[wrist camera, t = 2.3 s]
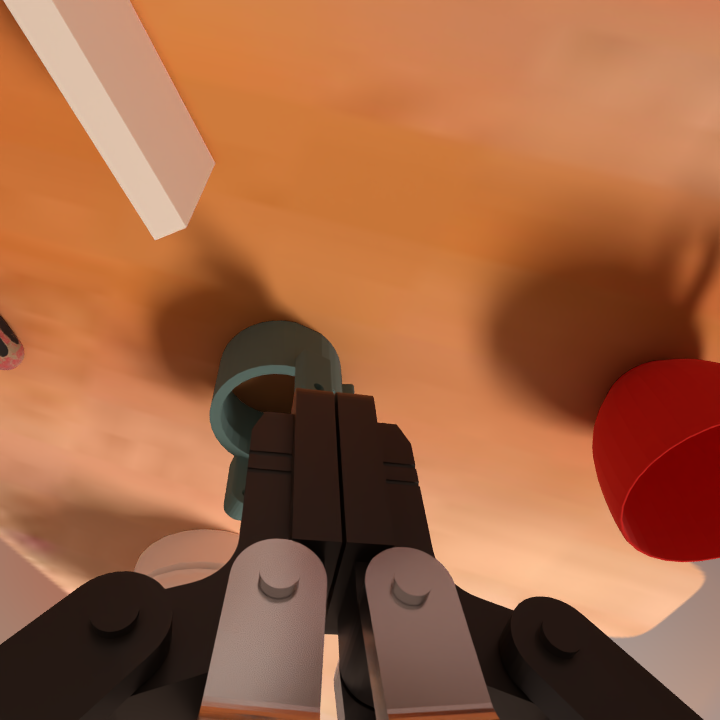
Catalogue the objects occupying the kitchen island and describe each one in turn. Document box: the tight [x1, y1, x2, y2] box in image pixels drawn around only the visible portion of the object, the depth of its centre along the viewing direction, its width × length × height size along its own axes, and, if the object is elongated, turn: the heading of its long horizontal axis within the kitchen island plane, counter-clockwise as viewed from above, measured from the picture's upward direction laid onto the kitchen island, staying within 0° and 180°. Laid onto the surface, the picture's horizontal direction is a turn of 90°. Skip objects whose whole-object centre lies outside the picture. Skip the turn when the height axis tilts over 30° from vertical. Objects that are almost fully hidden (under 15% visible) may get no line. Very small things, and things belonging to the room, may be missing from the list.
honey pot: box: [134, 529, 240, 589], centre depth 46 cm, size 13×13×18 cm
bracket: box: [210, 321, 354, 520], centre depth 38 cm, size 9×9×9 cm
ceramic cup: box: [592, 359, 720, 562], centre depth 40 cm, size 13×17×10 cm
